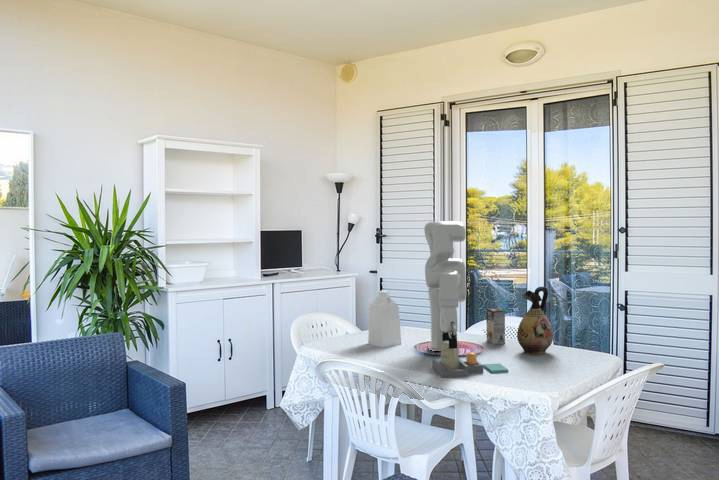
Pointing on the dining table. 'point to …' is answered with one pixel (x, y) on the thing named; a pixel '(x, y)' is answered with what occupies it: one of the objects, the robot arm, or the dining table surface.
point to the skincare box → (449, 356)
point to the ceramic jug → (535, 325)
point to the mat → (495, 368)
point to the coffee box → (495, 325)
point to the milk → (384, 321)
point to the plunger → (471, 358)
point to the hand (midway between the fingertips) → (449, 345)
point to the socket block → (462, 371)
